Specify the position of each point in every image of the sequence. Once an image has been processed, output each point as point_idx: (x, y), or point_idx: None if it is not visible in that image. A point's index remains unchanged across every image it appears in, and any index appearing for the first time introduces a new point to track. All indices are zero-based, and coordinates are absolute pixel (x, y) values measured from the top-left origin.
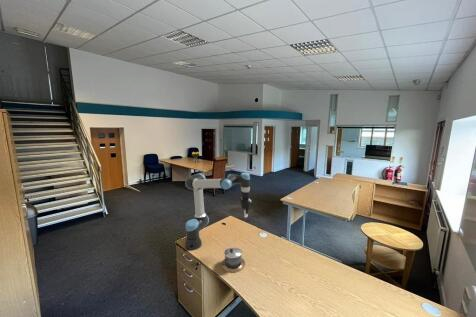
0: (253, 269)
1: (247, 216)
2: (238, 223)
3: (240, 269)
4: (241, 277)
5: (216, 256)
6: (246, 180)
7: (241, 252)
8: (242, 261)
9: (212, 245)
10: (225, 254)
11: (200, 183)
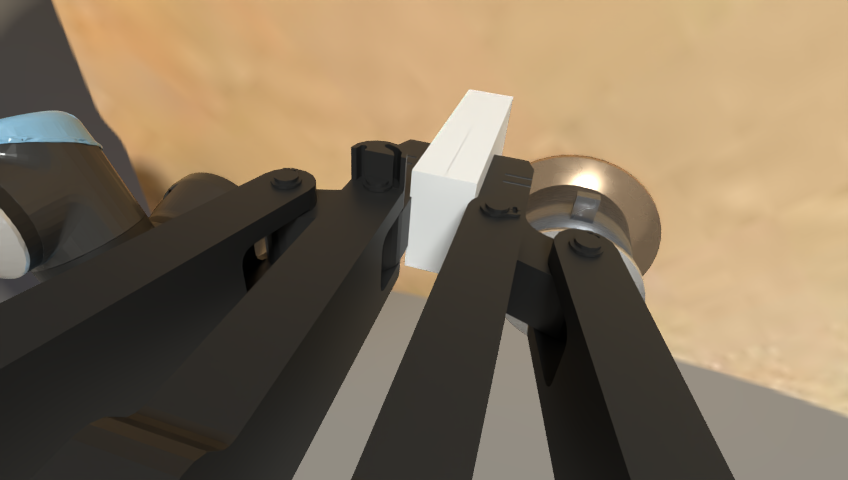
0: (744, 204)
1: (510, 106)
2: None
3: (649, 260)
4: (689, 299)
5: None
6: None
7: (636, 272)
8: (616, 189)
9: (296, 155)
10: (526, 330)
11: None
